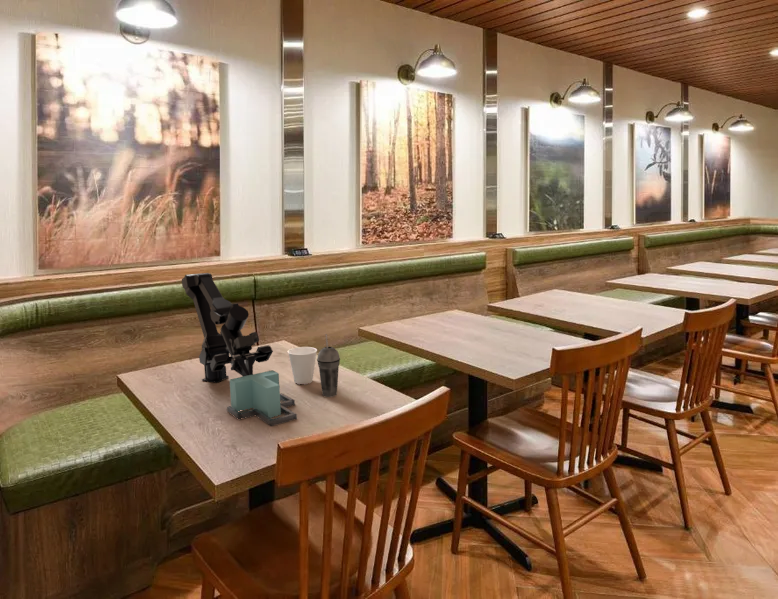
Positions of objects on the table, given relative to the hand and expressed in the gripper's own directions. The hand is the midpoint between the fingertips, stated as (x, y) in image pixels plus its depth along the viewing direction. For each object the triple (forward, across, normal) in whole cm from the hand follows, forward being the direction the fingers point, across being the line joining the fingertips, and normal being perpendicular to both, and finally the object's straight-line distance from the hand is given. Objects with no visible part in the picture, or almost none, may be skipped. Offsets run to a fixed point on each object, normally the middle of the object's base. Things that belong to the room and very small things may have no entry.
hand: (251, 381), depth 176 cm
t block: (+10, 0, 0) cm, 10 cm away
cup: (0, +22, +10) cm, 24 cm away
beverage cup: (+11, +22, -1) cm, 25 cm away
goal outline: (+13, 0, -3) cm, 13 cm away
